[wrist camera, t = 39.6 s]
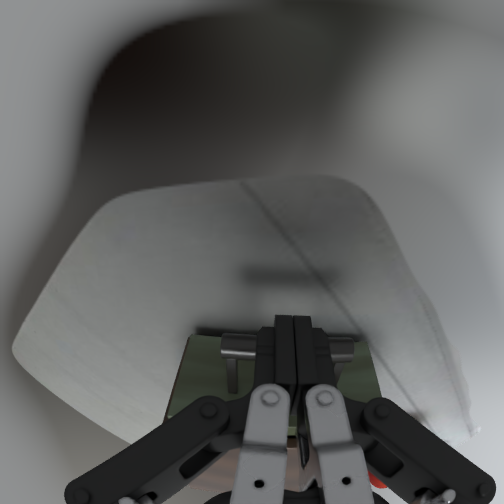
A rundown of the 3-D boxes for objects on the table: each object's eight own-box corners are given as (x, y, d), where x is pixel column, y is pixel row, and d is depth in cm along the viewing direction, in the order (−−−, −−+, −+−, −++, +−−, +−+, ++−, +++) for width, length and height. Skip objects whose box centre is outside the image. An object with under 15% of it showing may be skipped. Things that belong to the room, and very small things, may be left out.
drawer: (183, 280, 19) (148, 366, 13) (384, 290, 19) (420, 374, 12) (205, 415, 28) (194, 475, 22) (333, 420, 27) (338, 480, 21)
